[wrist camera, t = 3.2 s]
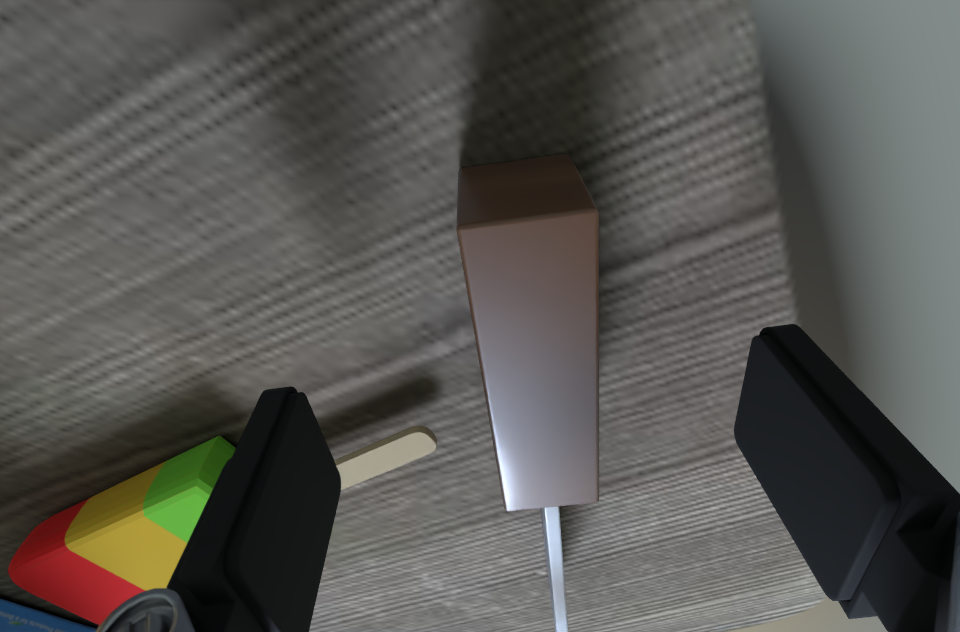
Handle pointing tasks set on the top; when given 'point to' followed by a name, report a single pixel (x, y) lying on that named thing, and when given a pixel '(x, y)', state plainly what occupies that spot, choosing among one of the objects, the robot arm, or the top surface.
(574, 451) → the knife
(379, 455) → the popsicle
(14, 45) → the top surface
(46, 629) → the label tape box
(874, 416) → the robot arm
